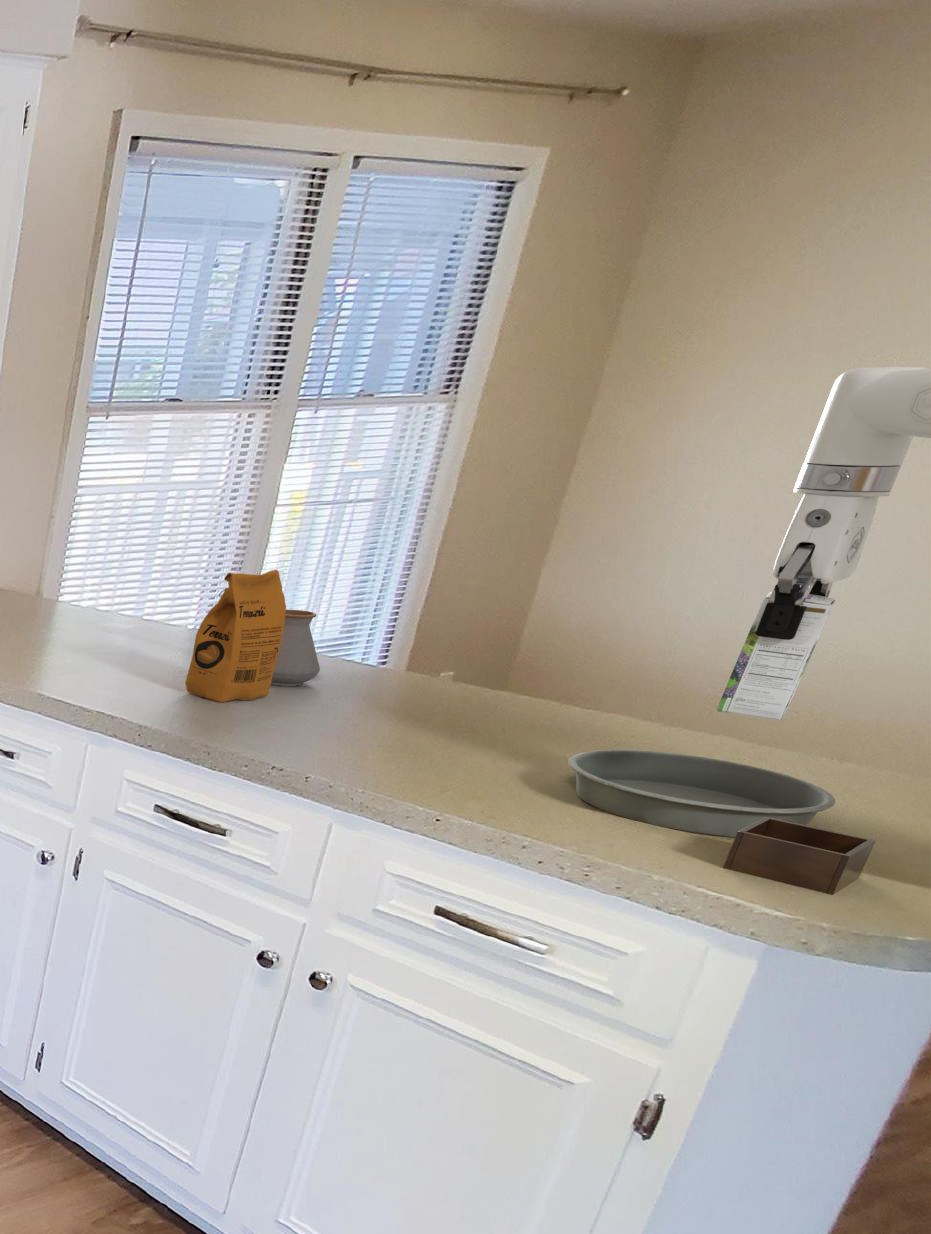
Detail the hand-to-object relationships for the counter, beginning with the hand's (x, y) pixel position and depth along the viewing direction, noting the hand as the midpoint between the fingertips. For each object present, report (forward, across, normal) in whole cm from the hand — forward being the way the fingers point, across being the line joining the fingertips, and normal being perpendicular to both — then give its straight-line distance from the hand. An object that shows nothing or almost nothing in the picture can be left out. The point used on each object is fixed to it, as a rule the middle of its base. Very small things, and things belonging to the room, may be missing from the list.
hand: (785, 632), depth 141 cm
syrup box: (+10, 0, 0) cm, 10 cm away
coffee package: (+24, +10, +67) cm, 72 cm away
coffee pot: (+24, +29, +72) cm, 81 cm away
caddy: (+24, -21, -12) cm, 34 cm away
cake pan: (+24, +1, +3) cm, 25 cm away
